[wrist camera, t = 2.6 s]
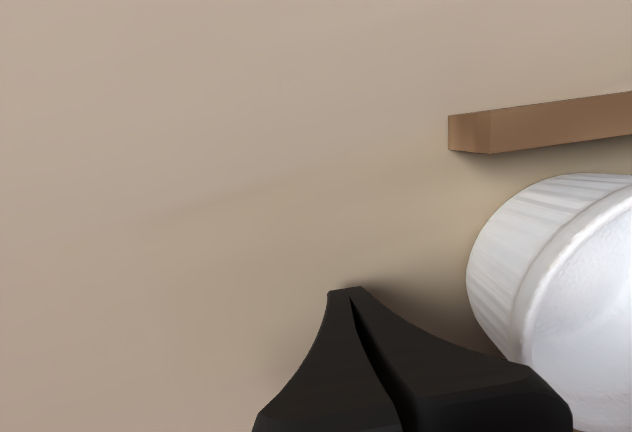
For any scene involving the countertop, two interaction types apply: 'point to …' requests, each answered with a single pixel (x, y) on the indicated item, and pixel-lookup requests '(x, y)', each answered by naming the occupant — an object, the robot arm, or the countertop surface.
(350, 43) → the countertop surface
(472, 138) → the channel
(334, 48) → the countertop surface
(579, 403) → the ramekin
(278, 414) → the robot arm
